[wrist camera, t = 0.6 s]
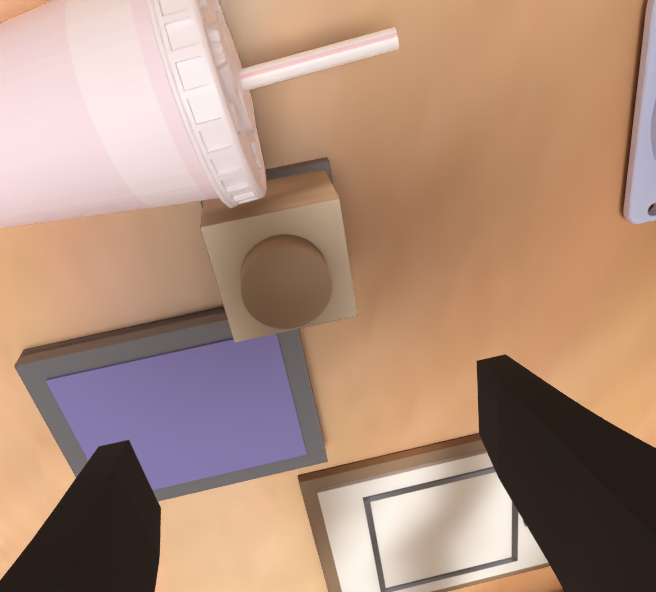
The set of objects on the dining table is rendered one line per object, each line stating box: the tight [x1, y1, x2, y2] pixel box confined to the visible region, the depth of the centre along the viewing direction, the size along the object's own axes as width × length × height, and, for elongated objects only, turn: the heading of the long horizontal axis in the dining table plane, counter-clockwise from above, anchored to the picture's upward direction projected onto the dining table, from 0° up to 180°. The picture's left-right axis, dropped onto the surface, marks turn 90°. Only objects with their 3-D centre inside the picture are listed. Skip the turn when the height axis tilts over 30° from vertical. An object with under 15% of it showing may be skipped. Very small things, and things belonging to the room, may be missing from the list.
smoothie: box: [0, 0, 399, 229], centre depth 14 cm, size 6×6×14 cm
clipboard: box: [298, 434, 550, 592], centre depth 28 cm, size 14×11×1 cm
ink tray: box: [14, 307, 328, 501], centre depth 22 cm, size 10×8×1 cm
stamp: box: [200, 157, 358, 342], centre depth 18 cm, size 4×4×5 cm
